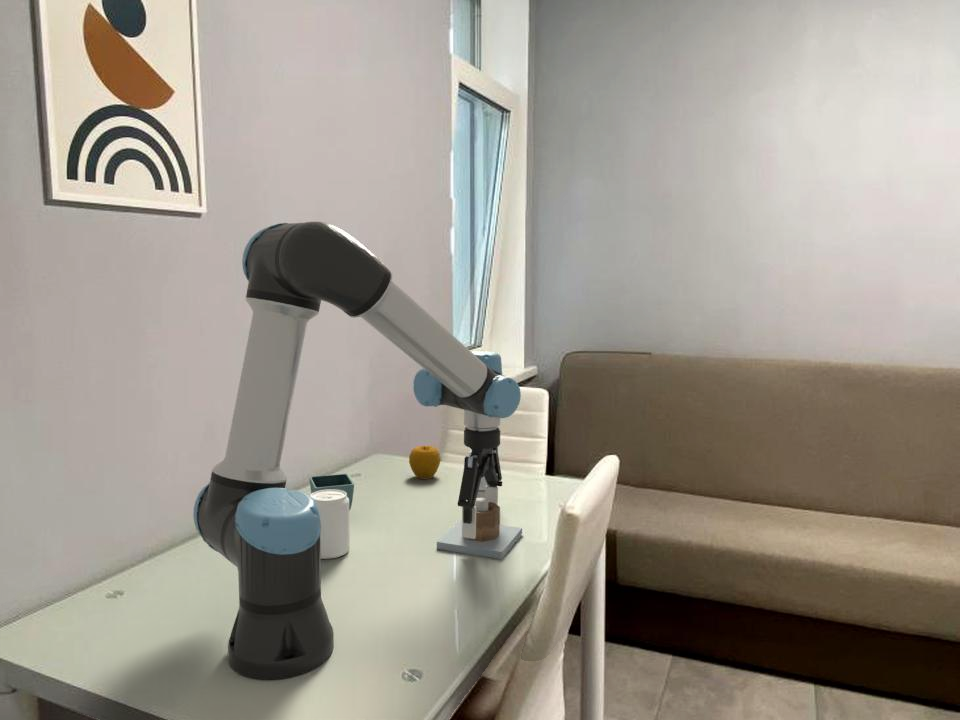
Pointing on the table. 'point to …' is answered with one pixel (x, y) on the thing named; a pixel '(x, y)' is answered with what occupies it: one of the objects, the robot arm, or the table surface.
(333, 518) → the beverage can
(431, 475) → the apple
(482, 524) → the collar
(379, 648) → the table surface
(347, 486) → the flower pot
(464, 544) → the post block
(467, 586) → the table surface
